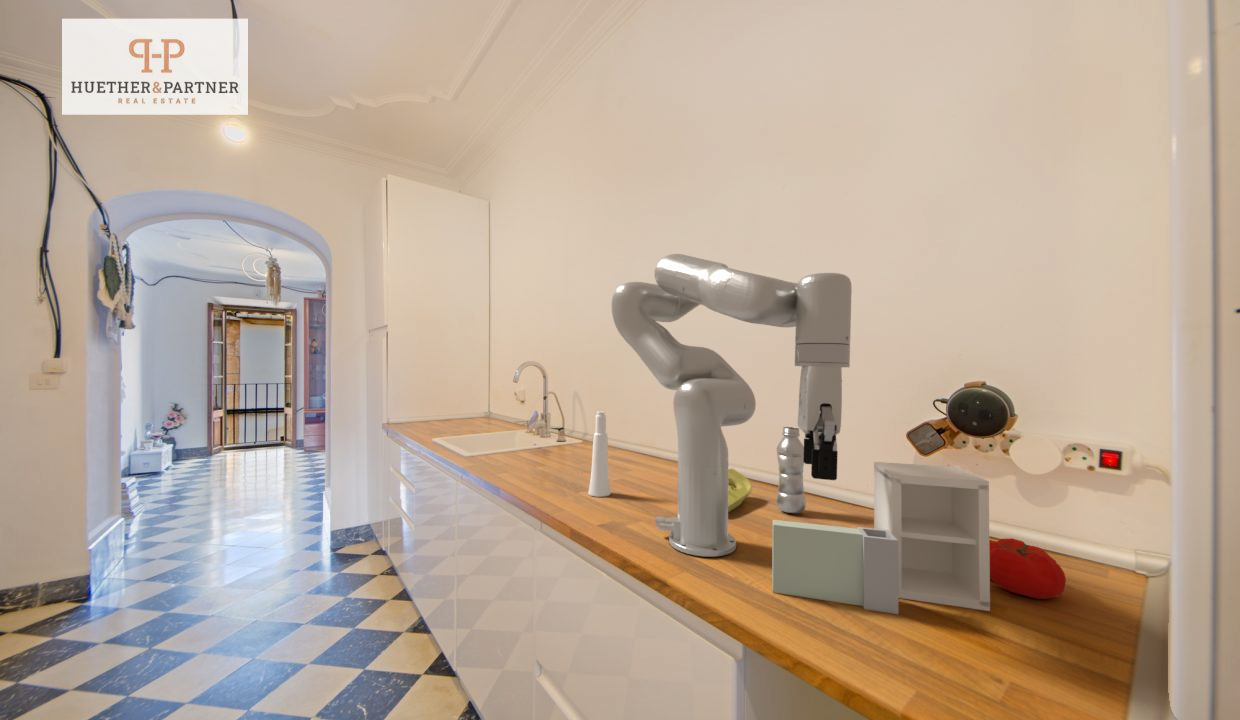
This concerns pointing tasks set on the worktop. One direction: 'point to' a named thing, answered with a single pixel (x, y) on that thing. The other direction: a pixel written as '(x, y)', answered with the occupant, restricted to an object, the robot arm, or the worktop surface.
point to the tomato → (1025, 569)
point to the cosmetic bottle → (600, 460)
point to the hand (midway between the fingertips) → (818, 471)
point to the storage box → (836, 564)
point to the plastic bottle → (790, 472)
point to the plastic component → (737, 488)
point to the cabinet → (936, 532)
